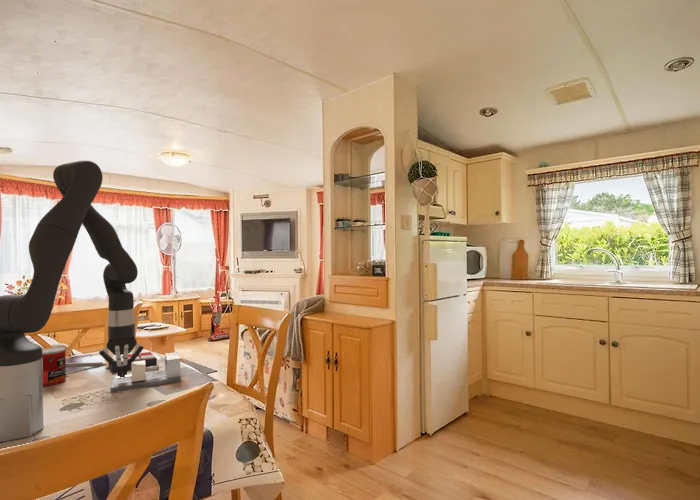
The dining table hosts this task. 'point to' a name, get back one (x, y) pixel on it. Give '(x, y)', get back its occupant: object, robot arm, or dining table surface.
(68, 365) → the caliper
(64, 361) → the canned food
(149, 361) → the calculator
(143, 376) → the block
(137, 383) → the gauge base
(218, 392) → the dining table surface
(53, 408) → the dining table surface
